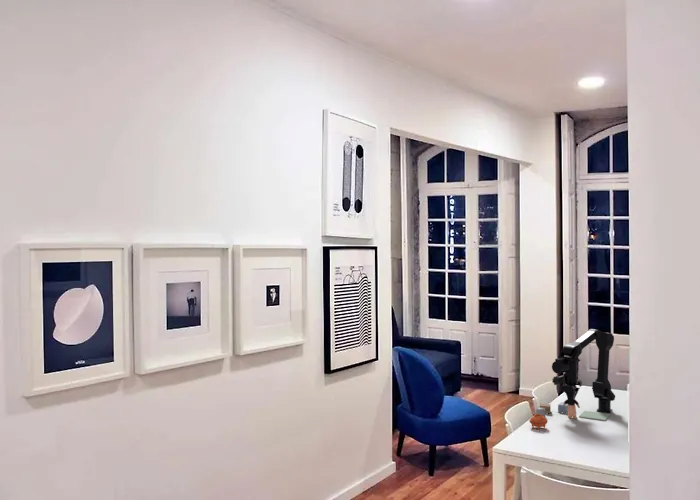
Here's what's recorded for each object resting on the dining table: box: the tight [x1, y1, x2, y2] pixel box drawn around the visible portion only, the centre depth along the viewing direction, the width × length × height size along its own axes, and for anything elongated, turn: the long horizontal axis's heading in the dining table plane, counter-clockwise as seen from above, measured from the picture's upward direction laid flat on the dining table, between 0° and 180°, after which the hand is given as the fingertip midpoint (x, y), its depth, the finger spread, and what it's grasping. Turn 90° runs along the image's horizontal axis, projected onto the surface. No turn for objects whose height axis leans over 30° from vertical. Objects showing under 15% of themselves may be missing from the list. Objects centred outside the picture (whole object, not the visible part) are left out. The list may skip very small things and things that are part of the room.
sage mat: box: [578, 410, 611, 422], centre depth 303 cm, size 12×12×1 cm
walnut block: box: [539, 403, 552, 414], centre depth 310 cm, size 5×5×4 cm
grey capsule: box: [535, 407, 546, 418], centre depth 302 cm, size 4×4×4 cm
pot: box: [529, 413, 548, 431], centre depth 283 cm, size 8×8×7 cm
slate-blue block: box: [557, 401, 568, 414], centre depth 312 cm, size 6×4×4 cm, turn 147°
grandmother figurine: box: [563, 396, 581, 420], centre depth 300 cm, size 8×4×13 cm, turn 84°
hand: (571, 403), depth 300 cm, fingers closed on grandmother figurine, 3 cm apart
